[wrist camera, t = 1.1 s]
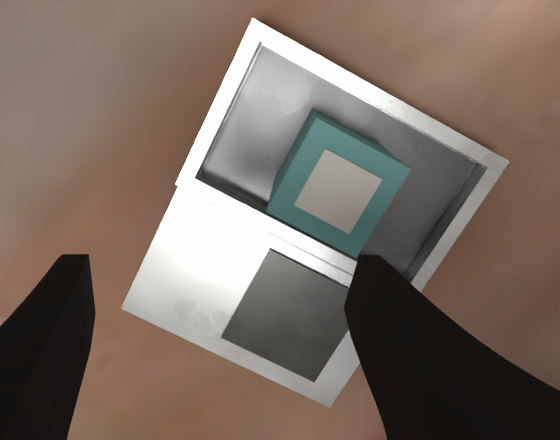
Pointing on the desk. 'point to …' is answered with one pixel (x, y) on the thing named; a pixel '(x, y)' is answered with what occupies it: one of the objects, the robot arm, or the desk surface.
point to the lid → (247, 298)
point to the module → (335, 183)
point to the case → (355, 115)
